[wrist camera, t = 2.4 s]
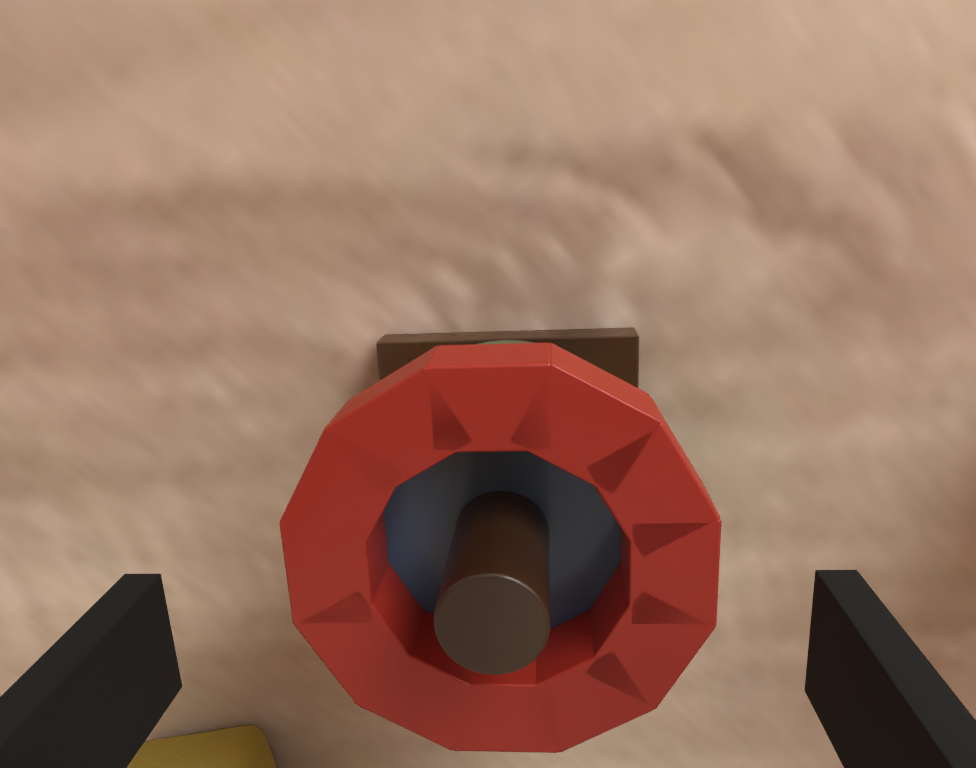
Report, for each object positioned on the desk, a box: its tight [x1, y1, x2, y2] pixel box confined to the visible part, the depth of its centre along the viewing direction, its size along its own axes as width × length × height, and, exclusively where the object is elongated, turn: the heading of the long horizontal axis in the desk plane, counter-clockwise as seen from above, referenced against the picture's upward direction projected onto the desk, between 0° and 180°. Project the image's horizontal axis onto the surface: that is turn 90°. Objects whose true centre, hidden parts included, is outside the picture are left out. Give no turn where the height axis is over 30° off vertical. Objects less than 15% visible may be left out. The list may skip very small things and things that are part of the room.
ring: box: [280, 343, 721, 753], centre depth 18 cm, size 10×10×2 cm
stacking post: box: [377, 328, 639, 675], centre depth 20 cm, size 8×8×10 cm
